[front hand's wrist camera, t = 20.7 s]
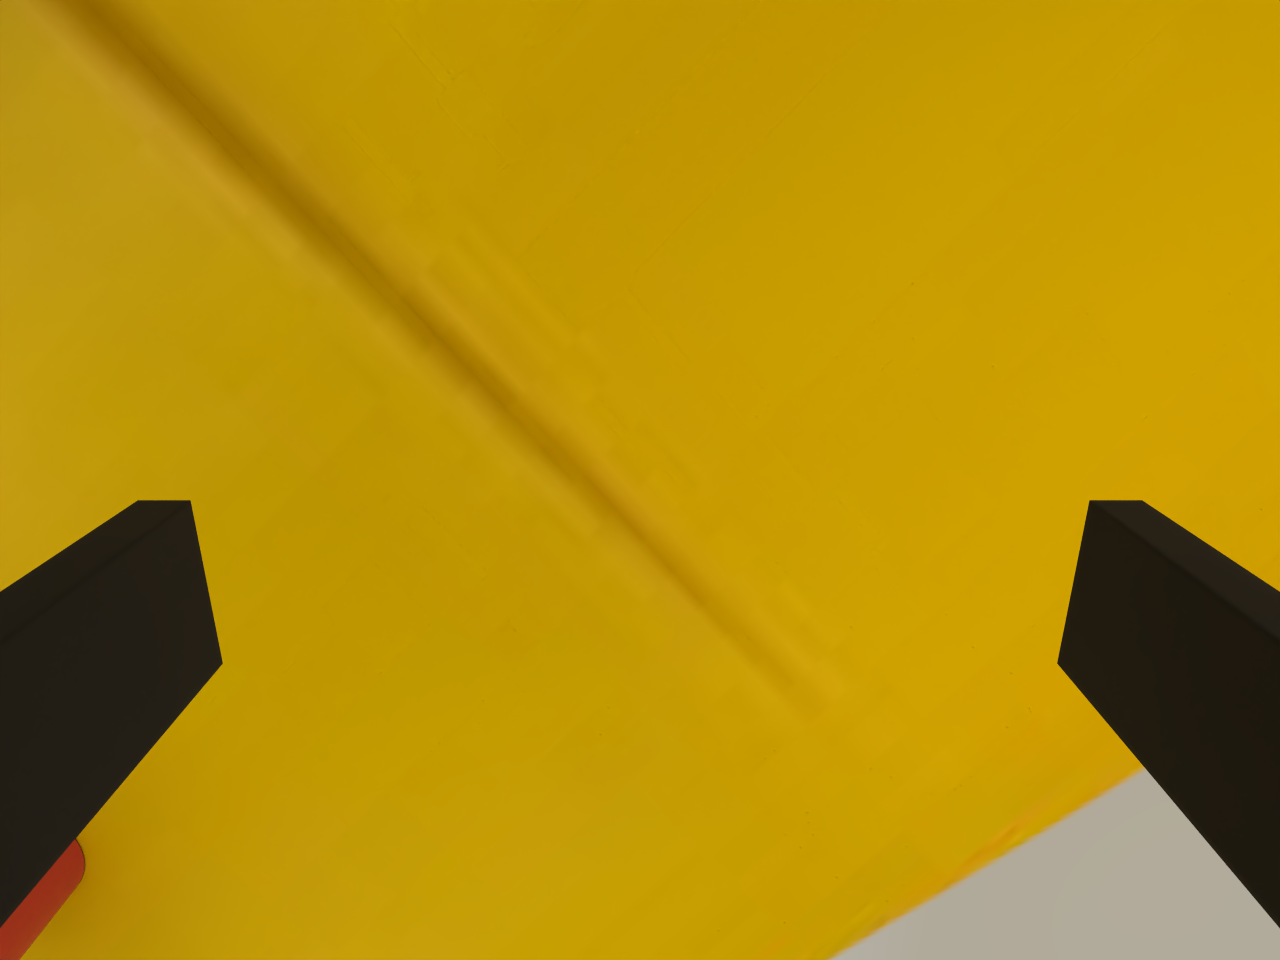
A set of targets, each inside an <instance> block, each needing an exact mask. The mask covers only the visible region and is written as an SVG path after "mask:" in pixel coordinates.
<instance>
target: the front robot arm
mask: <svg viewBox="0 0 1280 960" xmlns="http://www.w3.org/2000/svg"><path fill="white" fill-rule="evenodd" d="M222 664H223V662H222V657H221V652H220V647H219V642H218V637H217V632H216V627H215V622H214V617H213V612H212V607H211V602H210V597H209V592H208V587H207V582H206V577H205V572H204V567H203V561H202V556H201V551H200V546H199V541H198V536H197V531H196V526H195V521H194V516H193V511H192V506H191V501H190V500H138V501H136V502H135V503H133V504H132V505H130V506H129V507H127V508H126V509H124V510H123V511H121V512H120V513H118V514H117V515H115V516H114V517H112V518H111V519H109V520H108V521H106V522H105V523H103V524H102V525H100V526H99V527H97V528H96V529H94V530H93V531H91V532H90V533H88V534H87V535H85V536H84V537H82V538H81V539H79V540H78V541H76V542H75V543H73V544H72V545H70V546H69V547H67V548H66V549H64V550H63V551H61V552H60V553H58V554H57V555H55V556H54V557H52V558H51V559H49V560H47V561H46V562H44V563H43V564H41V565H40V566H38V567H37V568H35V569H34V570H32V571H31V572H29V573H28V574H26V575H25V576H23V577H22V578H20V579H19V580H17V581H16V582H14V583H13V584H11V585H10V586H8V587H7V588H5V589H4V590H2V591H1V592H0V928H1V927H2V925H3V924H4V923H5V922H6V921H7V919H8V918H9V917H10V916H11V915H12V913H13V912H14V911H15V910H16V909H17V907H18V906H19V905H20V904H21V903H22V902H23V900H24V899H25V898H26V897H27V896H28V894H29V893H30V892H31V891H32V890H33V888H34V887H35V886H36V885H37V884H38V883H39V881H40V880H41V879H42V878H43V877H44V875H45V874H46V873H47V872H48V871H49V869H50V868H51V867H52V866H53V865H54V863H55V862H56V861H57V860H58V859H59V858H60V856H61V855H62V854H63V853H64V852H65V850H66V849H67V848H68V847H69V846H70V844H71V843H72V842H73V841H74V840H75V839H76V837H77V836H78V835H79V834H80V833H81V831H82V830H83V829H84V828H85V827H86V825H87V824H88V823H89V822H90V821H91V819H92V818H93V817H94V816H95V815H96V814H97V812H98V811H99V810H100V809H101V808H102V806H103V805H104V804H105V803H106V802H107V800H108V799H109V798H110V797H111V796H112V794H113V793H114V792H115V791H116V790H117V789H118V787H119V786H120V785H121V784H122V783H123V781H124V780H125V779H126V778H127V777H128V775H129V774H130V773H131V772H132V771H133V770H134V768H135V767H136V766H137V765H138V764H139V762H140V761H141V760H142V759H143V758H144V756H145V755H146V754H147V753H148V752H149V750H150V749H151V748H152V747H153V746H154V745H155V743H156V742H157V741H158V740H159V739H160V737H161V736H162V735H163V734H164V733H165V731H166V730H167V729H168V728H169V727H170V726H171V724H172V723H173V722H174V721H175V720H176V718H177V717H178V716H179V715H180V714H181V712H182V711H183V710H184V709H185V708H186V706H187V705H188V704H189V703H190V702H191V701H192V699H193V698H194V697H195V696H196V695H197V693H198V692H199V691H200V690H201V689H202V687H203V686H204V685H205V684H206V683H207V681H208V680H209V679H210V678H211V677H212V676H213V674H214V673H215V672H216V671H217V670H218V668H219V667H220V666H221V665H222ZM1057 664H1058V665H1059V666H1060V667H1061V668H1062V670H1063V671H1064V672H1065V673H1066V674H1067V676H1068V677H1069V678H1070V679H1071V680H1072V681H1073V683H1074V684H1075V685H1076V686H1077V687H1078V689H1079V690H1080V691H1081V692H1082V693H1083V695H1084V696H1085V697H1086V698H1087V699H1088V701H1089V702H1090V703H1091V704H1092V705H1093V706H1094V708H1095V709H1096V710H1097V711H1098V712H1099V714H1100V715H1101V716H1102V717H1103V718H1104V720H1105V721H1106V722H1107V723H1108V724H1109V726H1110V727H1111V728H1112V729H1113V730H1114V731H1115V733H1116V734H1117V735H1118V736H1119V737H1120V739H1121V740H1122V741H1123V742H1124V743H1125V745H1126V746H1127V747H1128V748H1129V749H1130V750H1131V752H1132V753H1133V754H1134V755H1135V756H1136V758H1137V759H1138V760H1139V761H1140V762H1141V764H1142V765H1143V766H1144V767H1145V768H1146V770H1147V771H1148V772H1149V773H1150V774H1151V775H1152V777H1153V778H1154V779H1155V780H1156V781H1157V783H1158V784H1159V785H1160V786H1161V787H1162V788H1163V790H1164V791H1165V792H1166V793H1167V794H1168V796H1169V797H1170V798H1171V799H1172V800H1173V802H1174V803H1175V804H1176V805H1177V806H1178V808H1179V809H1180V810H1181V811H1182V812H1183V814H1184V815H1185V816H1186V817H1187V818H1188V819H1189V821H1190V822H1191V823H1192V824H1193V825H1194V827H1195V828H1196V829H1197V830H1198V831H1199V833H1200V834H1201V835H1202V836H1203V837H1204V838H1205V840H1206V841H1207V842H1208V843H1209V844H1210V846H1211V847H1212V848H1213V849H1214V850H1215V852H1216V853H1217V854H1218V855H1219V856H1220V858H1221V859H1222V860H1223V861H1224V862H1225V863H1226V865H1227V866H1228V867H1229V868H1230V869H1231V871H1232V872H1233V873H1234V874H1235V875H1236V877H1237V878H1238V879H1239V880H1240V881H1241V883H1242V884H1243V885H1244V886H1245V887H1246V888H1247V890H1248V891H1249V892H1250V893H1251V894H1252V896H1253V897H1254V898H1255V899H1256V900H1257V901H1258V903H1259V904H1260V905H1261V906H1262V907H1263V909H1264V910H1265V911H1266V912H1267V913H1268V915H1269V916H1270V917H1271V918H1272V919H1273V921H1274V922H1275V923H1276V924H1277V925H1278V927H1279V928H1280V592H1279V591H1278V590H1276V589H1275V588H1273V587H1272V586H1270V585H1269V584H1267V583H1266V582H1264V581H1263V580H1261V579H1260V578H1258V577H1257V576H1255V575H1254V574H1252V573H1251V572H1249V571H1248V570H1246V569H1245V568H1243V567H1242V566H1240V565H1239V564H1237V563H1236V562H1234V561H1233V560H1231V559H1229V558H1228V557H1226V556H1225V555H1223V554H1222V553H1220V552H1219V551H1217V550H1216V549H1214V548H1213V547H1211V546H1210V545H1208V544H1207V543H1205V542H1204V541H1202V540H1201V539H1199V538H1198V537H1196V536H1195V535H1193V534H1192V533H1190V532H1189V531H1187V530H1186V529H1184V528H1183V527H1181V526H1180V525H1178V524H1177V523H1175V522H1174V521H1172V520H1171V519H1169V518H1168V517H1166V516H1165V515H1163V514H1162V513H1160V512H1159V511H1157V510H1156V509H1154V508H1153V507H1151V506H1150V505H1148V504H1147V503H1145V502H1144V501H1142V500H1090V501H1089V506H1088V511H1087V516H1086V521H1085V526H1084V531H1083V536H1082V541H1081V546H1080V551H1079V556H1078V561H1077V567H1076V572H1075V577H1074V582H1073V587H1072V592H1071V597H1070V602H1069V607H1068V612H1067V617H1066V622H1065V627H1064V632H1063V637H1062V642H1061V647H1060V652H1059V657H1058V662H1057Z"/></svg>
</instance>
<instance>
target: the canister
mask: <svg viewBox="0 0 1280 960" xmlns="http://www.w3.org/2000/svg"><path fill="white" fill-rule="evenodd" d="M84 867H85V863H84V856H83V853H82V850H81V848H80V846H79V844H78V843H77V841H76V840H74V841H73V842H72V843H71V844H70V846H69V847H68V848H67V849H66V850H65V852H64V853H63V854H62V855H61V856H60V858H59V859H58V860H57V861H56V862H55V863H54V865H53V866H52V867H51V868H50V869H49V871H48V872H47V873H46V874H45V875H44V877H43V878H42V879H41V880H40V881H39V883H38V884H37V885H36V886H35V887H34V888H33V890H32V891H31V892H30V893H29V894H28V896H27V897H26V898H25V899H24V900H23V902H22V903H21V904H20V905H19V906H18V907H17V909H16V910H15V911H14V912H13V913H12V915H11V916H10V917H9V918H8V919H7V921H6V922H5V923H4V924H3V925H2V927H1V928H0V960H20V958H21V957H22V956H23V955H24V953H25V952H26V951H27V950H28V948H29V947H30V946H31V944H32V943H33V942H34V941H35V939H36V938H37V937H38V935H39V934H40V933H41V932H42V930H43V929H44V928H45V927H46V925H47V924H48V923H49V921H50V920H51V919H52V918H53V916H54V915H55V914H56V912H57V911H58V910H59V909H60V907H61V906H62V905H63V904H64V902H65V901H66V900H67V898H68V897H69V896H70V895H71V893H72V892H73V891H74V889H75V888H76V887H77V886H78V884H79V883H80V881H81V879H82V877H83V873H84Z"/></svg>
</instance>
